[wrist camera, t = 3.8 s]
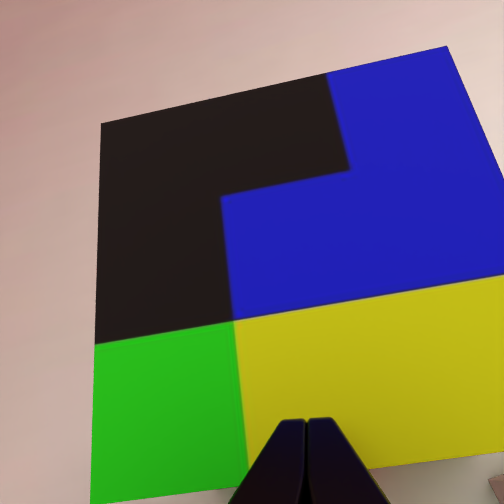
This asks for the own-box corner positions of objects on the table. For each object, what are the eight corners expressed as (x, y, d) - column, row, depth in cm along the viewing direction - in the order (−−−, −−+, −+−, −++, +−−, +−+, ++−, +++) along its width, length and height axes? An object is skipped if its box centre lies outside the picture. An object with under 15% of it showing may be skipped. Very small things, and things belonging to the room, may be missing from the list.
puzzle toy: (404, 219, 22) (446, 45, 13) (474, 452, 17) (614, 437, 8) (196, 258, 23) (100, 123, 14) (213, 485, 18) (89, 505, 9)
